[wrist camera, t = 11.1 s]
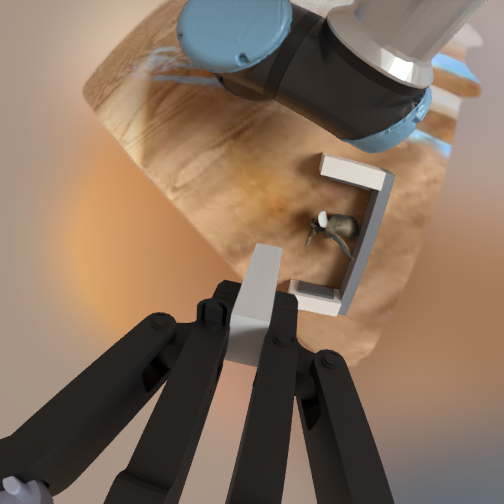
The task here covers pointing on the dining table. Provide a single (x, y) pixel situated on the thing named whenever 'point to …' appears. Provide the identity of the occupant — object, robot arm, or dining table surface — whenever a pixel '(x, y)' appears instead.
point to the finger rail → (381, 184)
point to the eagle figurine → (335, 229)
